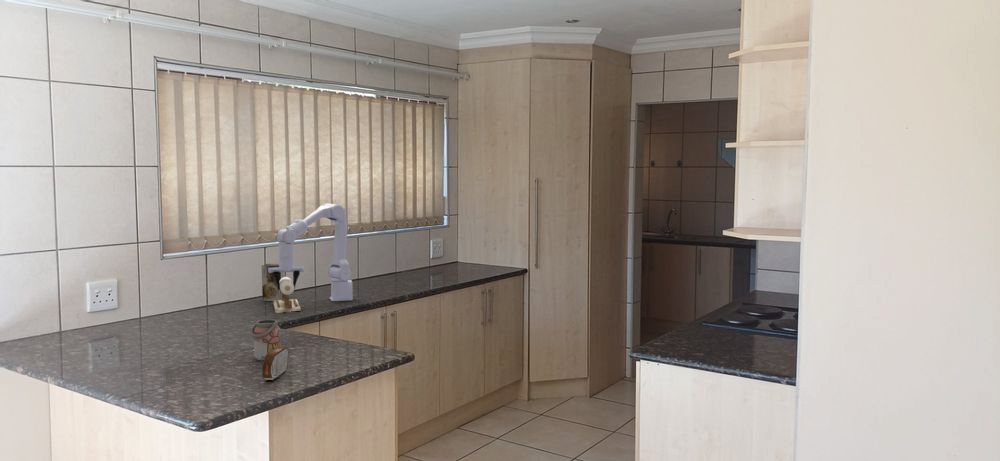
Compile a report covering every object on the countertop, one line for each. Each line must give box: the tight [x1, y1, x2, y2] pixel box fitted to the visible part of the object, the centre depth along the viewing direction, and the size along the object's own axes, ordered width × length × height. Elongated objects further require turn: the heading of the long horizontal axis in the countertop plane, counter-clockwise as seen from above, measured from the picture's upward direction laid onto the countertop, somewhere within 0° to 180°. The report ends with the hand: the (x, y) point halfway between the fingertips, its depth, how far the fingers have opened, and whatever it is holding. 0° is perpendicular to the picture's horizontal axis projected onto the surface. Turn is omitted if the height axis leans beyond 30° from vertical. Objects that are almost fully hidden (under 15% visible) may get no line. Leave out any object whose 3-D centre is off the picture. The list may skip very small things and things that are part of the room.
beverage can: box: [249, 318, 281, 359], centre depth 235 cm, size 9×8×12 cm
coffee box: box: [261, 263, 287, 302], centre depth 330 cm, size 9×6×16 cm
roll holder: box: [272, 294, 302, 314], centre depth 314 cm, size 10×20×4 cm, turn 20°
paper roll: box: [279, 276, 295, 296], centre depth 313 cm, size 6×13×6 cm, turn 20°
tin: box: [261, 345, 290, 379], centre depth 216 cm, size 15×3×8 cm, turn 176°
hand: (286, 288), depth 313 cm, fingers closed on paper roll, 6 cm apart
